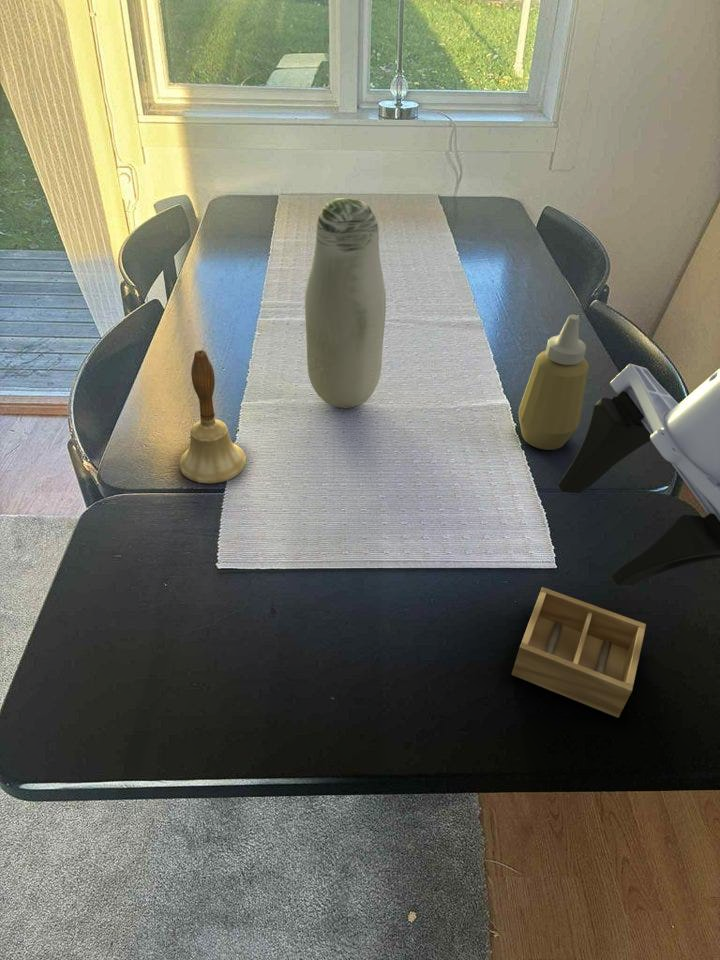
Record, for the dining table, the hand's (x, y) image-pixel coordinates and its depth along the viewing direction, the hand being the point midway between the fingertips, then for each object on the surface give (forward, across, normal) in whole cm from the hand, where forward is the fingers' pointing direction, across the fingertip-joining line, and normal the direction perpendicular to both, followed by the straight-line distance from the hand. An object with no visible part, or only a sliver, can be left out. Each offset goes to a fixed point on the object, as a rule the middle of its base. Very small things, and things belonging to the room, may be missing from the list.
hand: (594, 532), depth 49 cm
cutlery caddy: (+18, +2, +16) cm, 24 cm away
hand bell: (+38, -37, -5) cm, 53 cm away
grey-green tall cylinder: (+32, -45, +14) cm, 57 cm away
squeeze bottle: (+18, -29, +33) cm, 48 cm away
